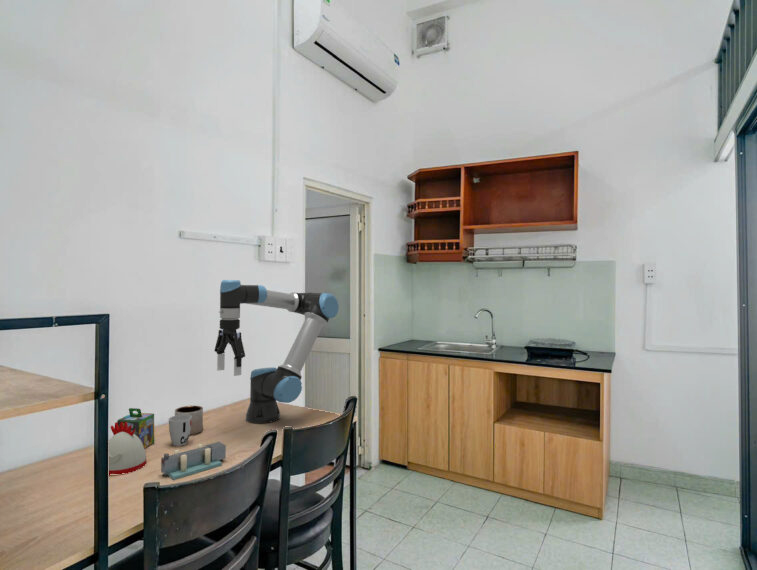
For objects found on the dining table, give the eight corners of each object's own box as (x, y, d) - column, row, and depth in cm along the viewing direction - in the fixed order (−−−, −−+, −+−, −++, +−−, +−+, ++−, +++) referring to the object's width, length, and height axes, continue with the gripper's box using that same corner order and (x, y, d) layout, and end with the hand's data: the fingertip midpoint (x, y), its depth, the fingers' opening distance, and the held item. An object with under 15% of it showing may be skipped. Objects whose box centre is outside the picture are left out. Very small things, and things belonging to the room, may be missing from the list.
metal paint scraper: (218, 454, 157) (219, 438, 157) (225, 458, 153) (225, 441, 153) (159, 470, 142) (160, 453, 142) (165, 475, 139) (166, 457, 139)
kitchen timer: (115, 457, 155) (116, 415, 155) (154, 459, 154) (154, 416, 154) (88, 474, 141) (89, 428, 141) (130, 476, 140) (131, 429, 140)
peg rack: (208, 457, 157) (208, 440, 157) (221, 465, 150) (222, 447, 150) (161, 470, 145) (161, 452, 145) (173, 479, 138) (173, 460, 138)
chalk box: (155, 443, 169) (155, 404, 169) (139, 452, 160) (139, 411, 160) (132, 441, 170) (133, 403, 170) (115, 450, 161) (116, 410, 161)
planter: (168, 434, 179) (168, 410, 179) (188, 426, 189) (189, 404, 189) (188, 438, 175) (188, 414, 175) (208, 430, 185) (208, 407, 185)
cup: (182, 448, 164) (182, 421, 164) (163, 446, 166) (163, 420, 166) (195, 441, 172) (196, 415, 172) (177, 439, 174) (177, 413, 174)
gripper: (206, 317, 179) (205, 369, 179) (236, 321, 162) (235, 379, 162) (223, 316, 185) (222, 366, 185) (255, 320, 168) (254, 376, 168)
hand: (228, 372), depth 173 cm, fingers open, 13 cm apart
